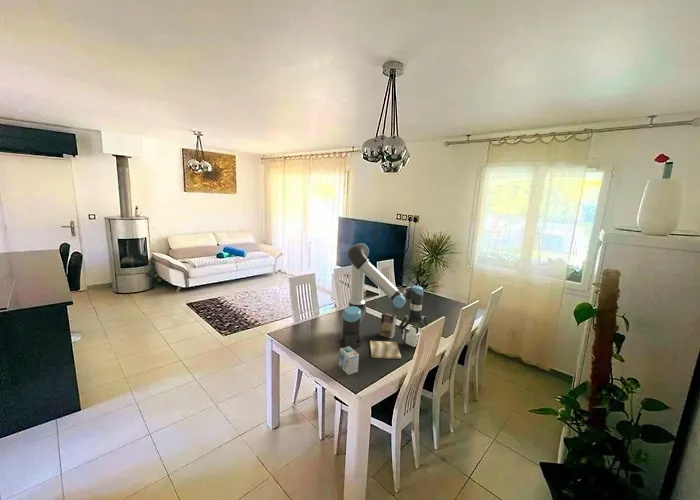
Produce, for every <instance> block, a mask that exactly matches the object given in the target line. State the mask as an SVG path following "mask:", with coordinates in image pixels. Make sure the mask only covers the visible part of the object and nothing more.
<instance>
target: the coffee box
mask: <svg viewBox="0 0 700 500" xmlns="http://www.w3.org/2000/svg"><path fill="white" fill-rule="evenodd" d="M380 320H381V321H380V330H379V336H382V337H384V338H388V339H393V337H394V336H395V335H396V333H395V332H396V325H397V324H396V323H397V314H396V313H392V312H388V311H384V312H382V313H381V316H380Z"/></svg>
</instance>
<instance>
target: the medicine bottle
mask: <svg viewBox="0 0 700 500" xmlns="http://www.w3.org/2000/svg"><path fill="white" fill-rule="evenodd" d="M419 334H420V332H419V327H418V326H416V325H410V326H409V328H408V332H407V333H406V335H405V344H406V345H409V346H411V347H414V348H416V347H417V346H416V344H417V340H418V335H419Z"/></svg>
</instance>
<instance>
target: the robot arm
mask: <svg viewBox="0 0 700 500" xmlns="http://www.w3.org/2000/svg"><path fill="white" fill-rule="evenodd" d="M369 254H370V249H369V247H368V246H367V244H365V243H362V242H360V243H359V242H358V243H355V244H354V245H352V246H351V247H349V248H348V250H347V253H346V256H347V259H348V261H349V263H350V264H351V265H352V269H351V270H352V271H351V291H350V292H351V293H350V295H351V296H350V299H349V300H348V306H347V307H345V308H344V309H343V311H342V328H341V329H342V330H341V331H342V332H341V334H340V335H339V338H338V339H339V340H338V343H339V345H340V346H341V347H342V348H344V347H348V346H350V347H351V348H352V349H356V348H357V349H358V348H359V347H361V346H362V344H363V339H362V335H361V322H362V321H363V318H364V317H365V315H366V313H367V305H366V300H365V299H364V293H365V276H366V277H367V278H368V279H369V280H370V281H371V282H372V283H374V284H375V286H376V287H378V289H380V290H381V291H382V292H383V293H384V294H385V295H386V296H387V298H389V299H390V300H391V301H392V303H393V306H395V307H396V308H398V309H401V308H403V307H404V306H405V305H406V302H407V301H410V303H409V304H410V305H409V306H410V307H409V314H408V315H407V314H404V317H403V318H402V320H401V322H400V323H399V325H398V329H399V330H400V334H401V338H402V340H404V339H405V329H406V328H407V327H408V326H409V325H410V324H414V323H415V324H417V323H418V324H419V325H420V326H421V328H423V327H426V326H427V325H428V322H427V319H426V316H425V315H422V308H423V300H424V298H423V297H424V287H422V286H420V285H412V287H411V288H409V287H408V288H406V287H400V286H396V285H394V284H393V283H392V282H391V281H390V280H389V279H388V278H387V277H386V276H384V274H383V273H381V271H379V270H378V268H376V267H375V265H373V264H372V263H371V262H370V259H369V258H368V257H369ZM421 320H423V322H424V324H425V325H424V324H423V323H422V321H421ZM428 326H429V325H428Z"/></svg>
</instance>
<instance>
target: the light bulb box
mask: <svg viewBox="0 0 700 500" xmlns="http://www.w3.org/2000/svg"><path fill="white" fill-rule="evenodd" d="M338 356H339V357H338V358H339V359H338V360H339V361H338V366H339V367H340V369H342V370H343V372H345V373H346V375H348V376H349V375H352V374H355V373H358V372H359V362H360V361H359V358H360V354H359V353H358V352H357V351H356V350H354V348H351V347H350V346H348V347H341V348H339V355H338Z"/></svg>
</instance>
